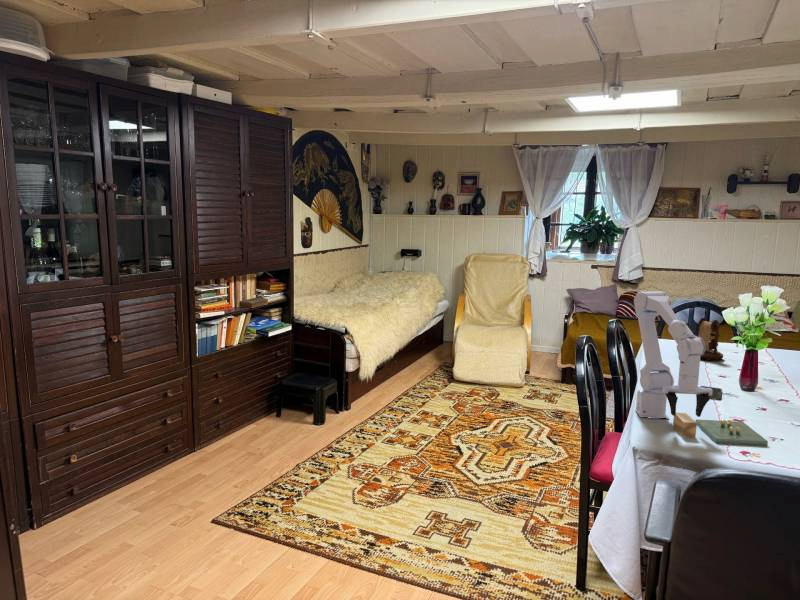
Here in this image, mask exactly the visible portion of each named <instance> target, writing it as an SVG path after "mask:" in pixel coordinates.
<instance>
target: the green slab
mask: <svg viewBox="0 0 800 600" xmlns="http://www.w3.org/2000/svg"><path fill="white" fill-rule="evenodd" d="M694 421H695V422H696V423H697V425H698V426H699V427H700V428H701V429H702V432H703V433H704V434H706V436H708V437H709V438H710V440H712V441H713V442H714V444H724V445H725V444H726V445H727V444H728V445H744V446H746V445H747V446H759V447H768V446H769V445H768V443H769V441H768V440H767V439H766V438H764V437H763V436H762V435H760V434H759V433H758V432H757V431H756V430H754V429H753V428H752V427H750V426H749V425H748V424H746V423H745V422H744V421H737V420H735V421H732V420H731V419H727V420H725V419H721V420H715V419H712V420H710V419H698V418H697V419H695V420H694ZM698 426H697V427H698ZM699 427H698V428H699ZM700 428H699V429H700ZM701 429H700V430H701Z"/></svg>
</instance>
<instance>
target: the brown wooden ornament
mask: <svg viewBox="0 0 800 600" xmlns="http://www.w3.org/2000/svg"><path fill="white" fill-rule="evenodd" d="M720 328H721V325H720V322H719V320H717V319H713V320H712V321H708V320H707V319H706V317H701V318H700V319H699V321H698V328H697V329H698V330H697V331H696V334H697V337H700V338H702V339H703V341H704V343H705V347H706V348H705V352H704V354H703V355H700V359H706V361H707V362H709V361H710V360H711V359H712V360H719V359H720V360H722V359H723V358H724V354H723V353H721V351H718V347H719V337H720V334H719V333H720ZM711 337H714V338H712V339H711ZM710 339H711V340H710Z"/></svg>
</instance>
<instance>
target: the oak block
mask: <svg viewBox="0 0 800 600" xmlns="http://www.w3.org/2000/svg"><path fill="white" fill-rule="evenodd" d="M695 421H696V420H694V419H693V418H692V417H691V416H690V415H689V414H688V413H687V412H676V414H675V416H673V423H672V427H673V426H674V427H675V428H676V429H677V430H676V429H675V428H674V427H673V428H674V429H675V430H676V432H677V431H678V432H679V433H680V434H681V435H682V436H690V437H689V438H697V437H696V436H697V427H698V426H697V423H696V422H695ZM678 432H677V433H678ZM679 433H678V434H679ZM680 434H679V435H680ZM681 435H680V436H681ZM682 436H681V437H682Z"/></svg>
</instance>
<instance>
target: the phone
mask: <svg viewBox="0 0 800 600" xmlns="http://www.w3.org/2000/svg"><path fill="white" fill-rule="evenodd" d="M699 387H703V388H711V389H712V390H713V392H712V396H710V395H708V396H709V397H710V399H709V400H714V399H716V400H715V401H721V400H722V395H723V393H722V392H723V389H722V388H719V387H712V386H705V385H700V386H699Z"/></svg>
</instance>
